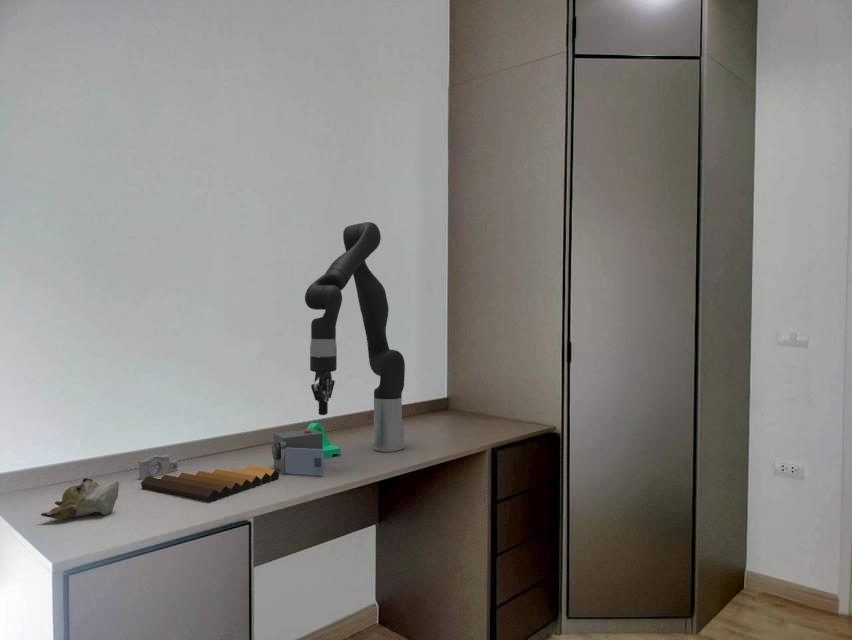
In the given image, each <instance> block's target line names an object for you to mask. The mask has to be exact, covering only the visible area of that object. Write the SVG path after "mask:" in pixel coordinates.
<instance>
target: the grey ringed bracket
mask: <svg viewBox="0 0 852 640" xmlns="http://www.w3.org/2000/svg"><path fill="white" fill-rule="evenodd" d="M170 457H171V455H169V454H168V453H167V454H165V455H158V454H154V455H150V456H149V457H148V458H147V459H143V460H138V461H137V464H139V465H138V466H139V467H138V468H139V469H138V470H139V471H138V472H139V475H138V476H139V479H140V480H144V479H145V478H146V477H152V478H156V477H159V476H160V475H166V474H168V473H173V472H176V471H178V467H179V466H178V462H179V460H178V459H175V460H173V461H172V460H171V461H170Z"/></svg>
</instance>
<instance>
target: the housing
mask: <svg viewBox="0 0 852 640" xmlns="http://www.w3.org/2000/svg"><path fill="white" fill-rule="evenodd" d="M282 447H285V448H307V449H323V433H320V432H318V431H315V430H313V429H307V428H306V429H301V430H294V431H293V430H291V431H284V432H283V431H282V432H275V433H274V432H273V443H272V445H271V455H272V456H271V457H272V459H273V468H274V469H275V470H278V471H280V472H281V448H282Z"/></svg>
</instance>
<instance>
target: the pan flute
mask: <svg viewBox="0 0 852 640" xmlns="http://www.w3.org/2000/svg"><path fill="white" fill-rule="evenodd" d="M279 477H280V472H279V471H277V469H272V468H267V467H266V468H265V467H260V466H253V465H247V466H246V467H245V468H238V467H233V466H232V467H230V469H229V470H224V469H223V470H222V469H217V468H215V469H214V470H213V471H212V472H208V471H203V470H198V471H197V473H196V474H191V473H186V472H181V473H180V474H179V475H178V476H174V475H168V474H163V475H162V477H160V478H157V477H146V478H145V479H142V481H141V482H140V486H141V488H142V489H144V490H148V491H153V492H157V493H163V494H166V495H167V494H168V495H172V496H178V497H182V498H185V499H186V498H187V499H191V500H196V501H202V502H206V503H210V504H211V503H213V502H216V501H218V500H219V499H221V500H222V499H225V498H228V497H230V495H231V496H234V495H237V494H240V493H241V492H246V491H248V490H250V489H254V488H257V487H259V486H260V485H266V484H269V483H270V482H274V481H277V480H279ZM256 486H257V487H256ZM250 487H251V488H250ZM245 490H246V491H245Z"/></svg>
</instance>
